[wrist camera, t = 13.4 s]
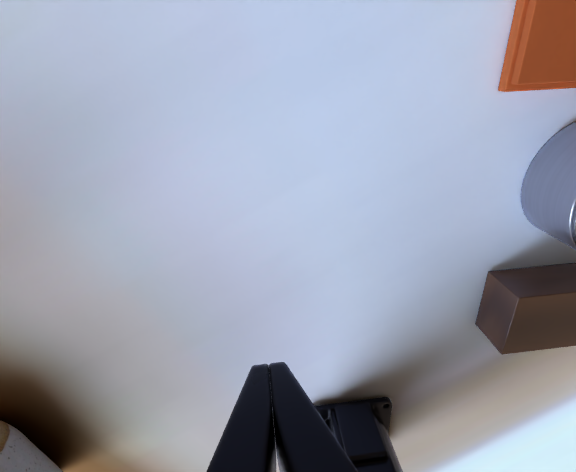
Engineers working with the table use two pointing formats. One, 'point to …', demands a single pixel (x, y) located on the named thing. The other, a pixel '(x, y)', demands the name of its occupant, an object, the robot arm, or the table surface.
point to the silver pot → (553, 187)
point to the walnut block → (529, 308)
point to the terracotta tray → (541, 46)
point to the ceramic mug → (21, 453)
